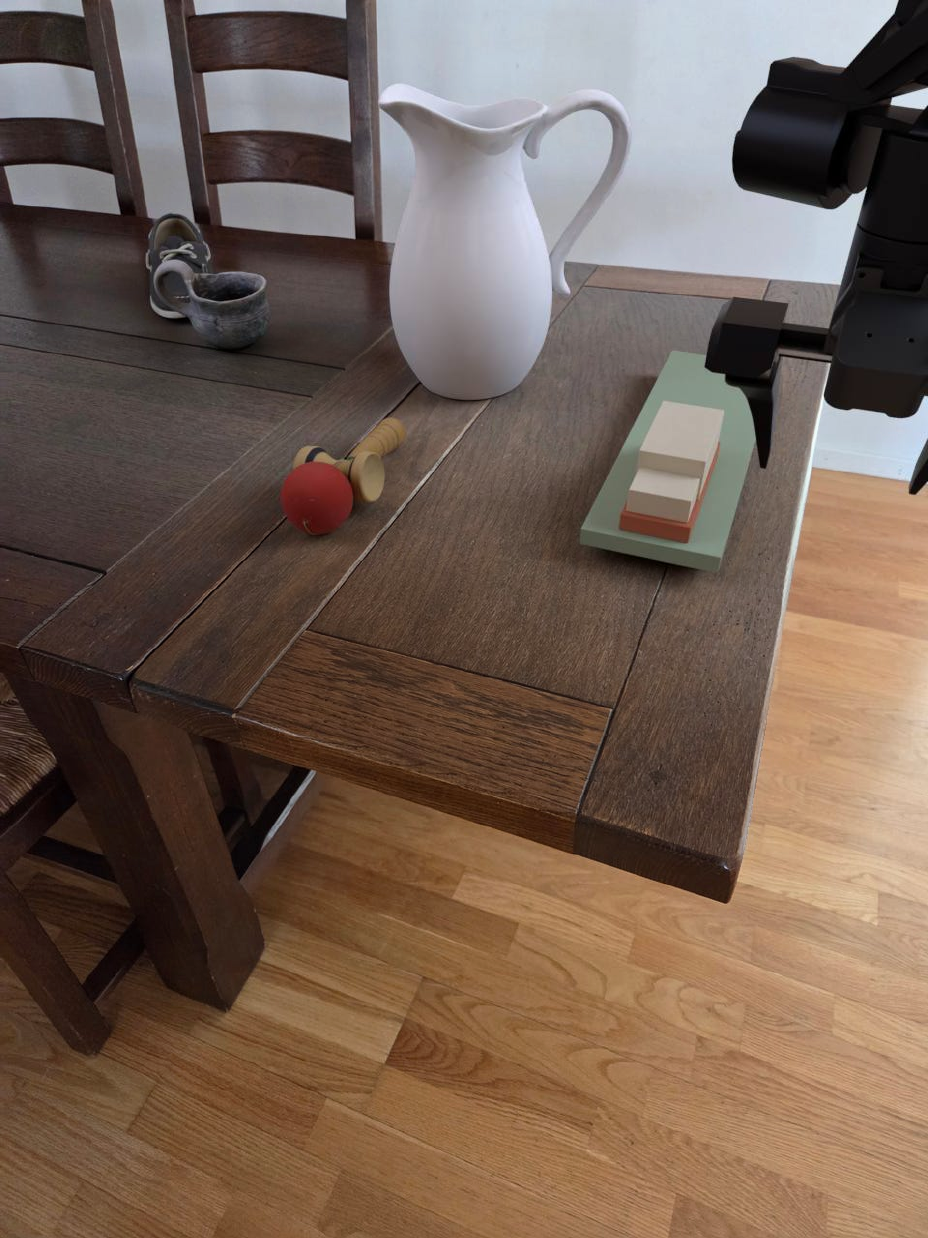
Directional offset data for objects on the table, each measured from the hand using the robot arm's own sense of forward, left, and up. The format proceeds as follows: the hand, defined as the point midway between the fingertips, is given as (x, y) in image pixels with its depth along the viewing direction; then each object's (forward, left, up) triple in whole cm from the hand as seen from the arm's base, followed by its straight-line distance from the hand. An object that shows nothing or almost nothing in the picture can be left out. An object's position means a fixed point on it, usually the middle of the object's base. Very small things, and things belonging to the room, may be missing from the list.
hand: (835, 478), depth 56 cm
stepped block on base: (+8, -12, -9) cm, 17 cm away
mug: (+57, -48, -12) cm, 75 cm away
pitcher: (+23, -40, -12) cm, 48 cm away
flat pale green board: (+5, -22, -12) cm, 26 cm away
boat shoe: (+67, -65, -12) cm, 94 cm away
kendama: (+36, -16, -12) cm, 41 cm away
